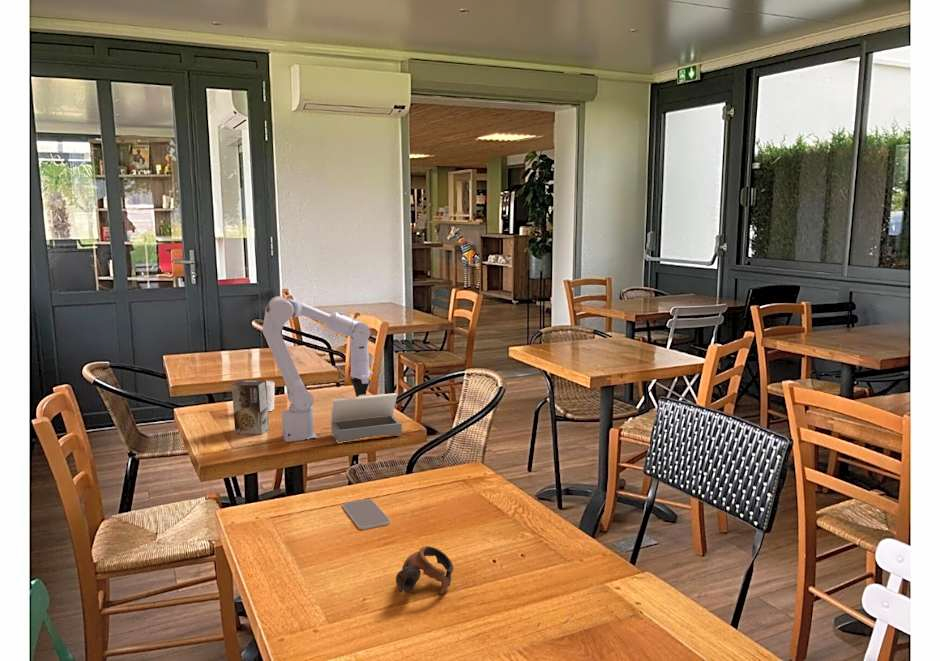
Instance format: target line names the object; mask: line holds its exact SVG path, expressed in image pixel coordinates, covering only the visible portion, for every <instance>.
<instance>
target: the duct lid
mask: <svg viewBox="0 0 940 661" xmlns="http://www.w3.org/2000/svg"><path fill="white" fill-rule="evenodd" d="M397 397H398V393H397V392H394V393H393V392H392V393H384V394H373V395H372V393H366V394H365V395H359V397H356V396H351V397H342V398H341V397H339V398H333V399H332V405H331V406H332V407H331V416H330V423H331V422H337V421H346V420H355V419H364V418H373V417H382V416H392V415H393V416H394V412H395V407H396V402H397V400H398V399H397Z"/></svg>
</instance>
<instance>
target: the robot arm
mask: <svg viewBox="0 0 940 661" xmlns="http://www.w3.org/2000/svg"><path fill="white" fill-rule="evenodd" d="M303 316H304V317H307V318H310V319H312V320H316V321H318V322H321V323H324V324H325V325H326V327H327V329H328V330H330V331H333V332H336V333H338V334H340V335H343V336H345V337H349V338H350V339H349V340H350V343H349V344H350V345H349V349H350V374H349V375H350V377H352V378H351V379H350V382H351V384H352V386H353V390H354V393H355V397H359V395H365V394H367V391H368V387H369V386H370V383H371V379H370V375H374V372H373V371H372V370H371V371H370V358H369V357H370V356H369V355H370V354H369V351H370V350H369V338H370V337H371V331H370V327H369V326H368V325H367V324H366V323H364V322H362V321H360V320H359V319H357V318H356V317H353V318H352V317H350V316H347V315H344V312H342V311H338V312H336V311H333V312H331V313H327V312H326V311H323V310H320V309H318V308H316V307H314V306H311V305H309V304H307V303H304V302H302V301H298V300H294V299H292V298H291V299H290V298H287V299H286V298H285V297H284V296H279V295H278V296H274V297H272V298H271V299H270V300H269V301H268V303H267V304H266V306H265V309H264V318H263V322H262V323H263V324H262V330H261V331H262V333H263V336H264V338H265V340H266V343H267V345H268V347H269V349H270V351H271V354H272V356H273V357H274V361H275V362H276V364H277V367H278V369H279V372H280V374H281V376H282V379H283V380H284V383H285V387H286V388H287V399H288V401H289V402H290V405H289V407H288V409H287V410H283V411H281V423H282V430H281V432H282V433H281V434H282V437H283V439H284V442H286V443H289V442H297V441H306V440H305V439H307V440H311V439H310V438H316V437H317V438H318V436H317V434H316V433H315V431H314V430H315V429H314V428H315V427H314V406H313V405H314V397H313V395H312V393H311V392H310V391H308V389H307V388H306V386H305V384H304V382H303V380H302V379H301V376H300V374H299V372H298V369H297V367H296V364H295V363H294V361H293V358H292V356H291V353H290V352H289V350H288V347H287V344H286V342H285V340H284V338H283V336H282V333H281V332H282V330H283V328H284V326H285V324H286V323H287V322H288V321H289V320H290V319H291V318H292V317H294V318H297V317H303ZM317 438H316V439H317Z"/></svg>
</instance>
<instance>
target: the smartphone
mask: <svg viewBox="0 0 940 661" xmlns="http://www.w3.org/2000/svg"><path fill="white" fill-rule="evenodd" d="M342 508H343V510H344V511H345V512H346V514H347V515H348V516H349V517H350V520H352V522H353V523H354V524H355V525H356V527H357V529H359V530H362V531H365V530H371V529H374V528H379V527H385V526H388V525H390V524H391V519H390V518H389V516H387V515H386V514H385V512H384V511H383V510H382V509H381V507H379V505H377V504H376V502H375V501H374V500H373V499H372V498H371V499H370V498H366V499H360V500H355V501H349V502H345V503H342Z"/></svg>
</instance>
